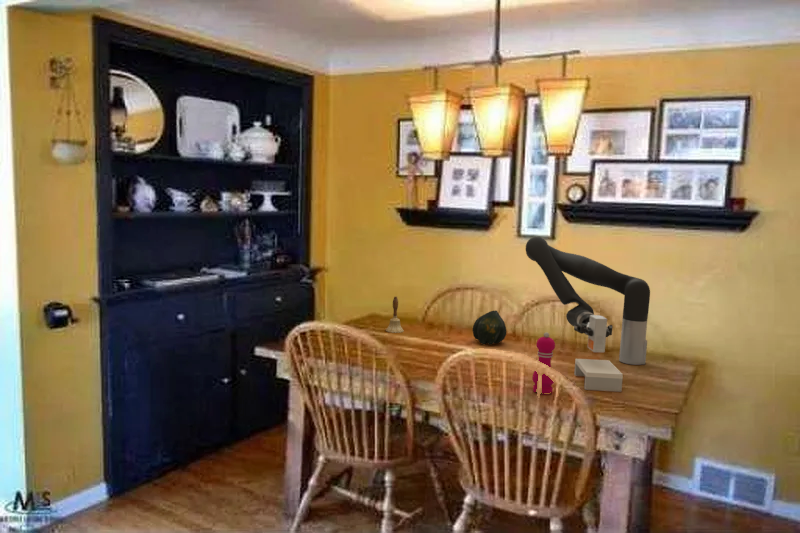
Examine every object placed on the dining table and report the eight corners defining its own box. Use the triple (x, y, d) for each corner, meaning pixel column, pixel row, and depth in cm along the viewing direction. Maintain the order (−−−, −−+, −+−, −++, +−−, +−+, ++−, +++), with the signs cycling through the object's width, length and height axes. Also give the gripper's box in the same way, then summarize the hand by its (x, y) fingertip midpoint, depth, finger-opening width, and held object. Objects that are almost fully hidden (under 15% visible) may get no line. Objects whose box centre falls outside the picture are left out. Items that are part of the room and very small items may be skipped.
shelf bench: (607, 376, 234) (609, 360, 233) (621, 391, 216) (622, 374, 215) (574, 374, 234) (575, 358, 234) (585, 389, 217) (586, 372, 216)
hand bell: (403, 333, 291) (404, 298, 289) (385, 332, 291) (386, 297, 289) (403, 329, 299) (405, 295, 297) (385, 328, 299) (387, 294, 297)
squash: (463, 331, 273) (488, 307, 270) (469, 326, 288) (493, 303, 284) (487, 356, 271) (512, 332, 268) (491, 349, 286) (516, 326, 282)
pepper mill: (554, 396, 208) (558, 335, 206) (531, 393, 210) (535, 333, 207) (553, 389, 215) (557, 331, 213) (531, 387, 217) (535, 329, 214)
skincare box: (586, 347, 228) (589, 314, 227) (598, 348, 229) (601, 315, 227) (593, 352, 222) (595, 318, 221) (605, 352, 223) (607, 318, 221)
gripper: (570, 312, 239) (579, 322, 222) (609, 314, 238) (621, 324, 221) (568, 332, 240) (577, 343, 223) (607, 334, 239) (619, 345, 222)
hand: (599, 333), depth 222 cm, fingers closed on skincare box, 4 cm apart
